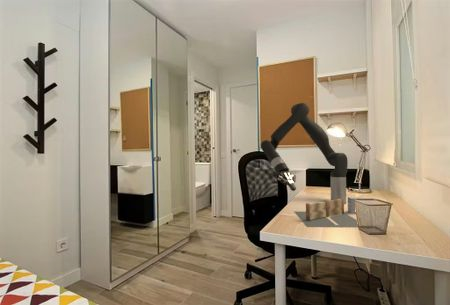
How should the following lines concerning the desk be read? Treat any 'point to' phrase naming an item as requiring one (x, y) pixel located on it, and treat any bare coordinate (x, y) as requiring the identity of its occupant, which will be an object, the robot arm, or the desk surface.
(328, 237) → the desk surface
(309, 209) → the fence swing section
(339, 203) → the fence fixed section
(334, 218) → the board
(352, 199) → the medicine box
